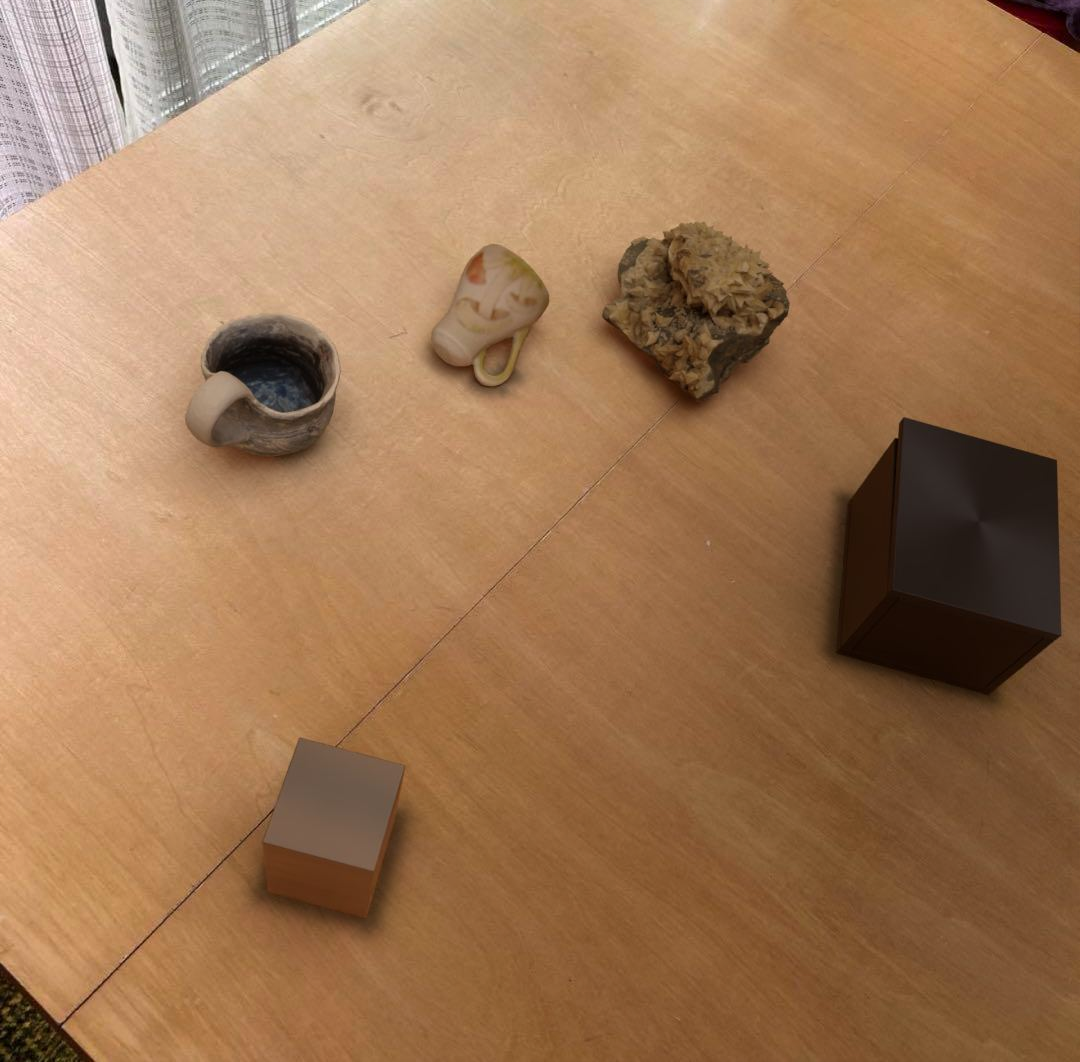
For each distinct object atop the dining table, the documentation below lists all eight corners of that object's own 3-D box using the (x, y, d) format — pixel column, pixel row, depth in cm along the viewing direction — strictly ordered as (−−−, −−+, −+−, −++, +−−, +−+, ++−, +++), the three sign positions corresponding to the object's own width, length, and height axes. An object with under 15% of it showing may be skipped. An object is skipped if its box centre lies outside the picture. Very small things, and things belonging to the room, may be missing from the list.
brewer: (847, 503, 91) (895, 436, 84) (988, 542, 91) (1047, 479, 84) (836, 653, 83) (887, 595, 76) (989, 695, 84) (1054, 641, 76)
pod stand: (366, 918, 68) (374, 871, 60) (267, 892, 68) (262, 842, 60) (394, 822, 72) (405, 765, 63) (300, 797, 71) (299, 736, 63)
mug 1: (360, 403, 88) (366, 313, 80) (284, 529, 81) (281, 445, 73) (244, 356, 88) (237, 262, 80) (159, 477, 82) (142, 388, 73)
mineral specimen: (557, 321, 96) (581, 232, 88) (654, 251, 102) (685, 162, 94) (690, 429, 92) (728, 347, 84) (782, 350, 98) (826, 267, 90)
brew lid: (898, 422, 84) (903, 416, 83) (1051, 465, 84) (1057, 459, 83) (887, 595, 76) (892, 589, 75) (1055, 641, 76) (1061, 636, 76)
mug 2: (400, 355, 91) (429, 233, 87) (477, 344, 99) (508, 230, 94) (470, 395, 88) (504, 270, 84) (544, 380, 96) (579, 265, 91)
